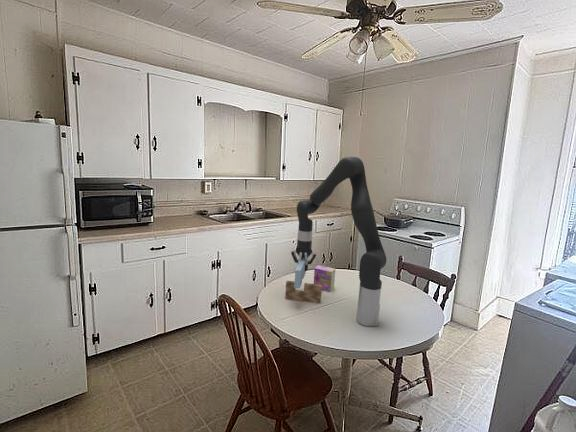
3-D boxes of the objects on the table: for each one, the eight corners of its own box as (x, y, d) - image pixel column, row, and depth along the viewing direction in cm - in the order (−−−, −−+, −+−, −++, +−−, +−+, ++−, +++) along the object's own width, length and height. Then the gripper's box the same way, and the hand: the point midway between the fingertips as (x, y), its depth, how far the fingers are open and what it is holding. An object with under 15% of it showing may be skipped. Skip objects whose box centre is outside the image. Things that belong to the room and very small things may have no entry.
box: (312, 287, 174) (314, 267, 172) (316, 284, 179) (318, 264, 177) (330, 292, 169) (332, 271, 167) (334, 288, 174) (335, 268, 172)
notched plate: (299, 288, 147) (300, 270, 145) (294, 288, 147) (295, 270, 145) (305, 273, 166) (306, 257, 164) (300, 272, 166) (301, 256, 165)
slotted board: (320, 301, 158) (322, 285, 156) (320, 303, 156) (321, 286, 154) (285, 296, 161) (286, 280, 159) (285, 298, 159) (286, 282, 157)
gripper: (290, 239, 157) (288, 271, 160) (317, 242, 155) (315, 274, 158) (292, 235, 164) (290, 266, 168) (319, 238, 162) (316, 269, 165)
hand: (302, 270), depth 163 cm, fingers closed on notched plate, 2 cm apart
